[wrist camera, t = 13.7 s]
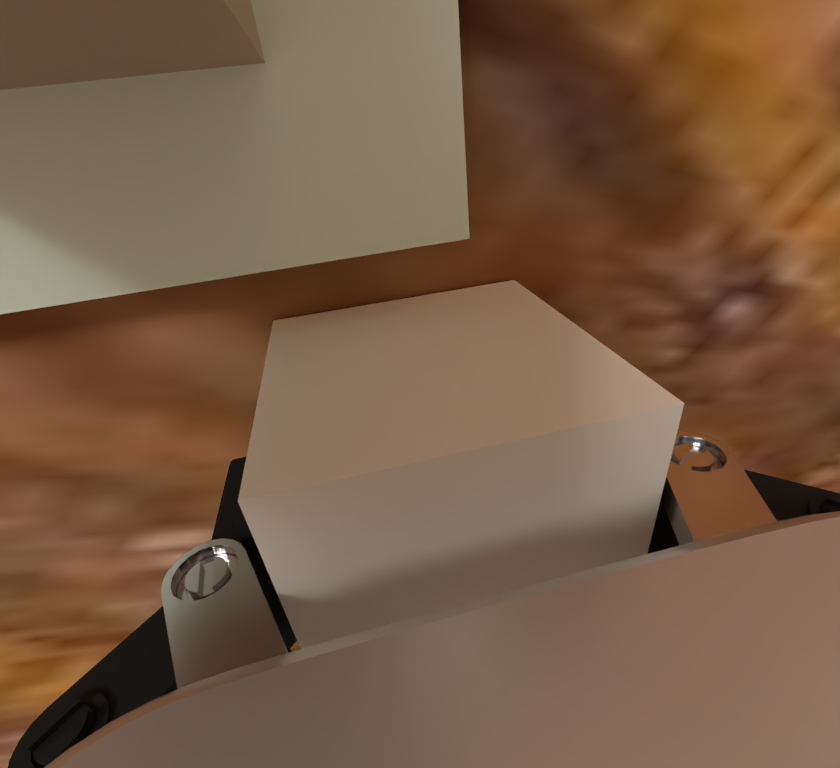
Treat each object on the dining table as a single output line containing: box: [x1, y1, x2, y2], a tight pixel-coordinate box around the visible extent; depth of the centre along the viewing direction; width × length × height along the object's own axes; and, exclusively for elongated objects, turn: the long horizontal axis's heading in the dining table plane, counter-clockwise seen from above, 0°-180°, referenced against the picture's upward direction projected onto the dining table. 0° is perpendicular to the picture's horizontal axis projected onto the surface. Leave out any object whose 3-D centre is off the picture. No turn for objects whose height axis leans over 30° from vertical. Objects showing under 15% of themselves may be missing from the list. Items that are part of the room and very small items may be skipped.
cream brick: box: [238, 280, 684, 649], centre depth 10 cm, size 6×6×6 cm
